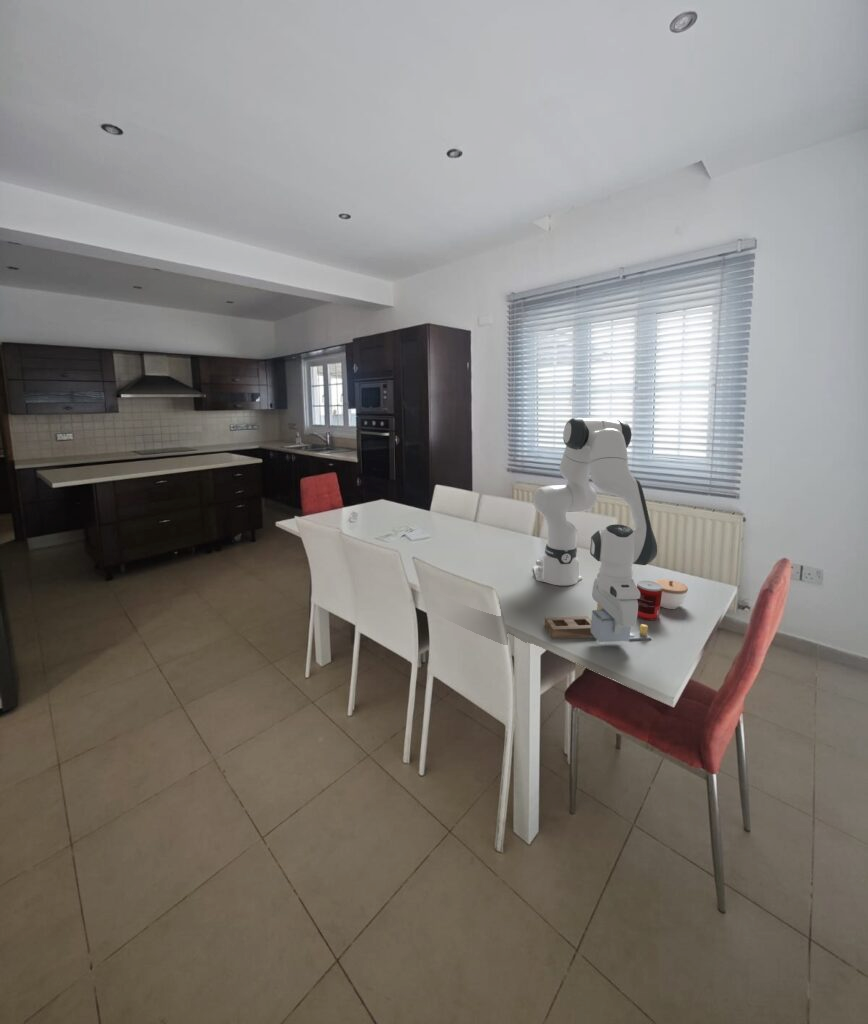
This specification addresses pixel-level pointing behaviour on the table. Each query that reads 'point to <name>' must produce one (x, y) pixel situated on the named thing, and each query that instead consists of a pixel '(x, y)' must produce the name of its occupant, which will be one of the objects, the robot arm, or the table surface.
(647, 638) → the plate
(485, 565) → the table surface
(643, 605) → the canned food
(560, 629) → the socket board
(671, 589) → the lidded jar
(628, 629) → the cover
